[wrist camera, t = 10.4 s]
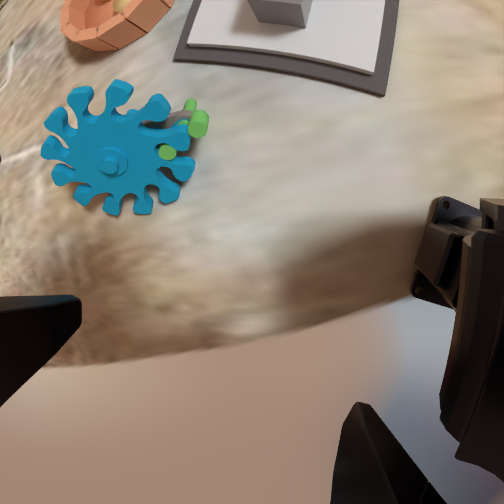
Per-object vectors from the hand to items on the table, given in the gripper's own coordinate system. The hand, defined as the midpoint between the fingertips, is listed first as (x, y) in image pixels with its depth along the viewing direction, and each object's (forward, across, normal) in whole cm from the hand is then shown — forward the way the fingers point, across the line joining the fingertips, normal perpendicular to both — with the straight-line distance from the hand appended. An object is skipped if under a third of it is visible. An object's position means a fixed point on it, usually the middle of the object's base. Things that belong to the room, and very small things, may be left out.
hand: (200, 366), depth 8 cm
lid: (+12, +3, -19) cm, 22 cm away
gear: (+12, +10, -5) cm, 17 cm away
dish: (+12, +17, -18) cm, 28 cm away
